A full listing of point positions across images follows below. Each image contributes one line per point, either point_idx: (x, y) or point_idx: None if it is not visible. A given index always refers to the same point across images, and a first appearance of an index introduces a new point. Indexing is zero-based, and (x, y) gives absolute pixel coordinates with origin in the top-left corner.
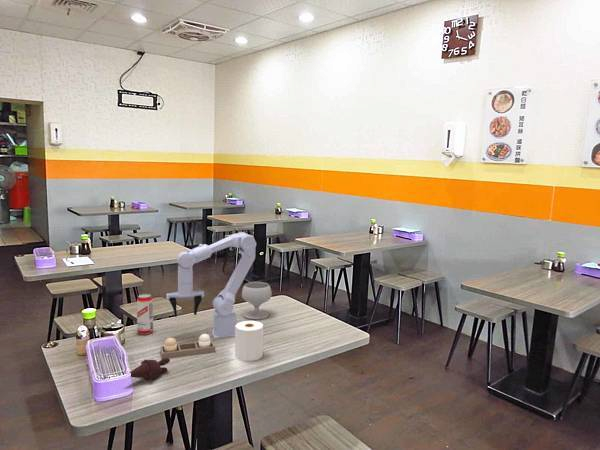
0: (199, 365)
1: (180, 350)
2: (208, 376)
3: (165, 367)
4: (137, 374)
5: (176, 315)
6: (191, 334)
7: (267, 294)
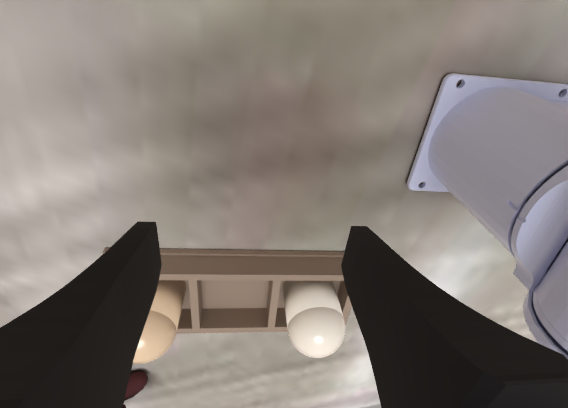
0: (256, 359)
1: (196, 327)
2: (265, 402)
3: (138, 389)
4: None
5: (156, 279)
6: (310, 56)
7: None
